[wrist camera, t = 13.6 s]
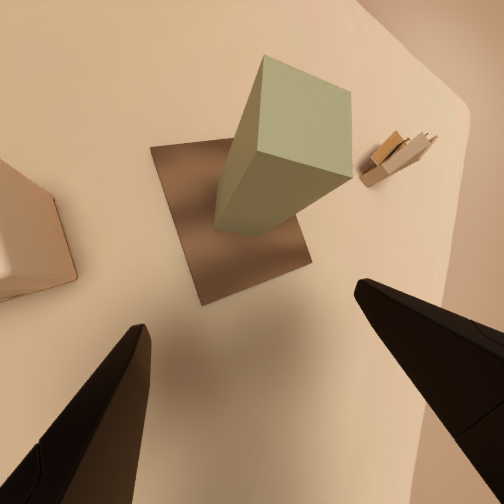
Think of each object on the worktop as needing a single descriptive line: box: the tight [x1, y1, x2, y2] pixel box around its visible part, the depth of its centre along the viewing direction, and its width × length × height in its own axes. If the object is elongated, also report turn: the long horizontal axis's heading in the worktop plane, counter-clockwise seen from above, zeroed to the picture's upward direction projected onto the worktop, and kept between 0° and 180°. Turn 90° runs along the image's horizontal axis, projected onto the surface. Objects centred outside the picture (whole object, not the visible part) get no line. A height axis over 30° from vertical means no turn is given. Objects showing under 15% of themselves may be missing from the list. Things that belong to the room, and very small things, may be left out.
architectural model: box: [359, 131, 438, 187], centre depth 28 cm, size 3×7×7 cm, turn 135°
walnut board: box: [150, 138, 313, 306], centre depth 23 cm, size 16×13×1 cm
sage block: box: [213, 54, 353, 236], centre depth 16 cm, size 5×5×13 cm
